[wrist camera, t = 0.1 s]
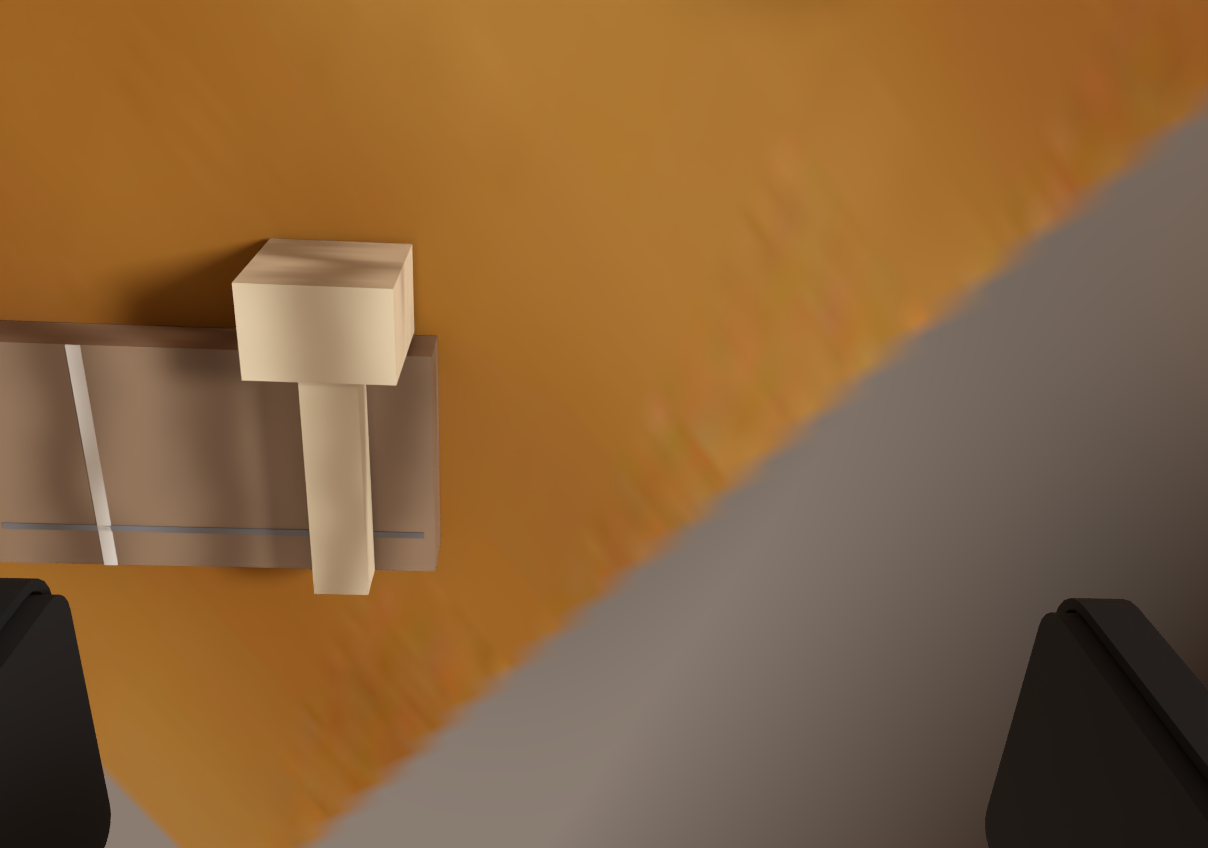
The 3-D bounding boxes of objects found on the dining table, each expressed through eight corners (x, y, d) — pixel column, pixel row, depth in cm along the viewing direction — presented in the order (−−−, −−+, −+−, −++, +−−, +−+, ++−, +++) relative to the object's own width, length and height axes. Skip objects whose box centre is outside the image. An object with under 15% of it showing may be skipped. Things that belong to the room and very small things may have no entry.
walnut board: (24, 533, 51) (-1, 562, 49) (-22, 319, 46) (-52, 340, 44) (440, 542, 52) (435, 571, 50) (437, 336, 47) (431, 357, 45)
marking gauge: (295, 539, 51) (265, 612, 46) (270, 238, 45) (231, 282, 39) (419, 542, 52) (404, 615, 46) (412, 243, 45) (393, 288, 40)
